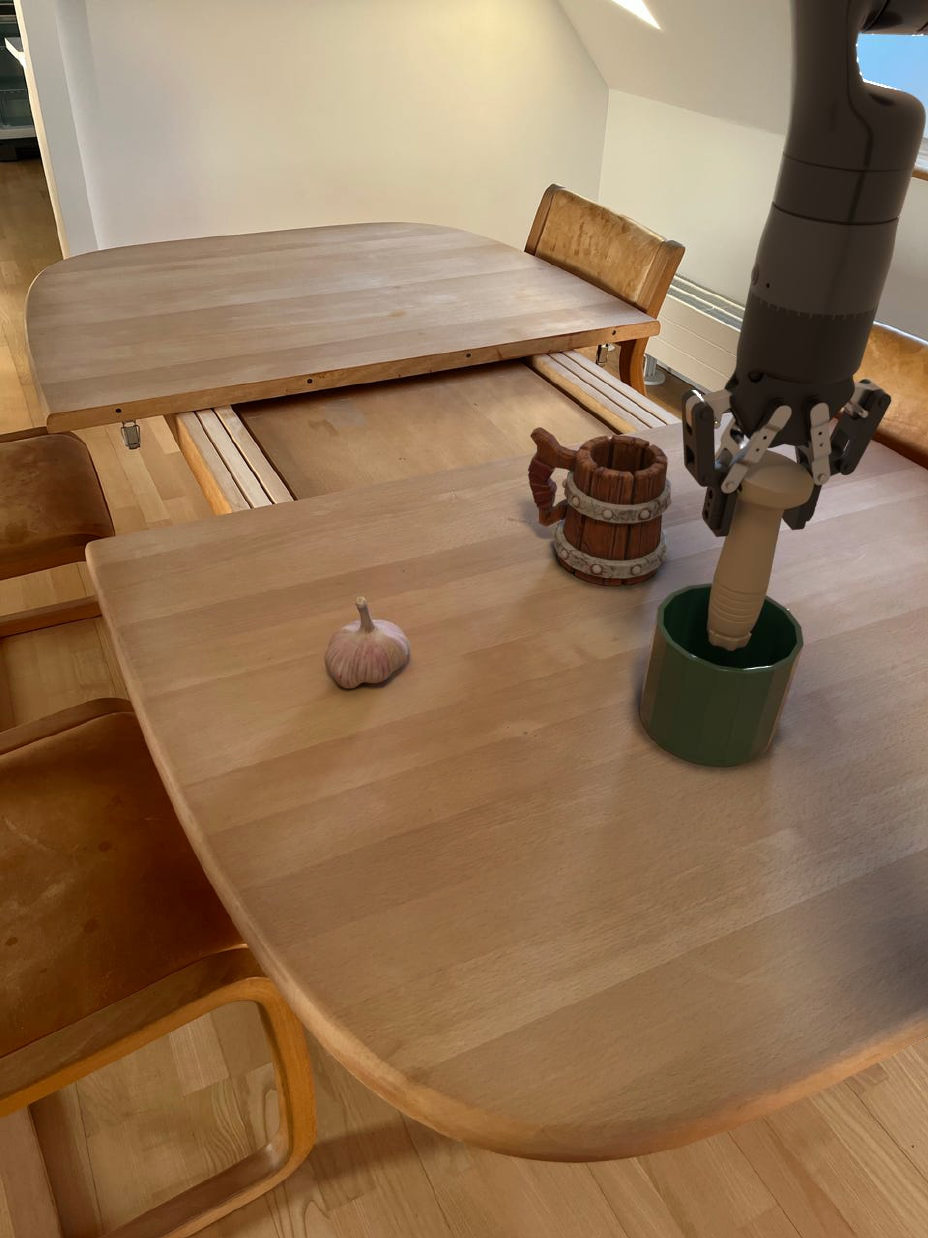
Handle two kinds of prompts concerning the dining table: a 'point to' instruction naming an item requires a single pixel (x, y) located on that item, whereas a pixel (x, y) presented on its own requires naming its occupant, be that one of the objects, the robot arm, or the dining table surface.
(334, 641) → the garlic bulb
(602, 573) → the mug
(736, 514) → the handle
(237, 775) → the dining table surface
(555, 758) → the dining table surface
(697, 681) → the cup
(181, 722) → the dining table surface
